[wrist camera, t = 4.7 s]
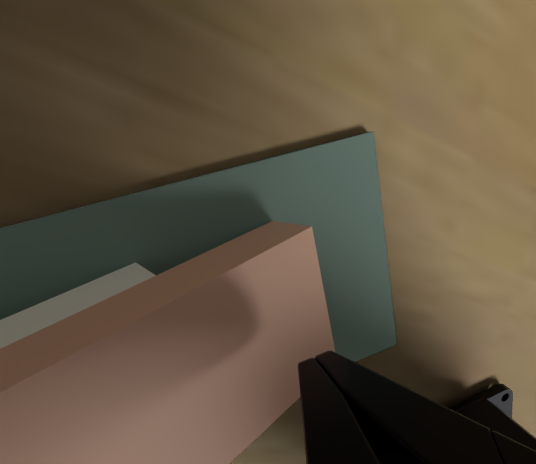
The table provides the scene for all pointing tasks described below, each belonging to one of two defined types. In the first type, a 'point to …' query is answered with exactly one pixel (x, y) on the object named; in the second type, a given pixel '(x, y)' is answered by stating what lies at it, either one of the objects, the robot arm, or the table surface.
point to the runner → (225, 234)
